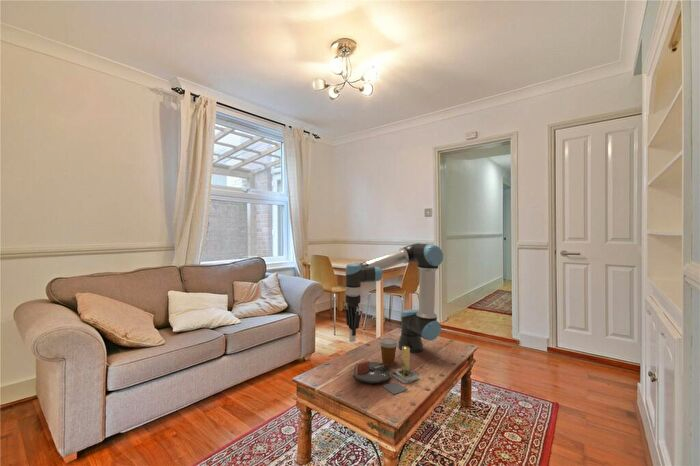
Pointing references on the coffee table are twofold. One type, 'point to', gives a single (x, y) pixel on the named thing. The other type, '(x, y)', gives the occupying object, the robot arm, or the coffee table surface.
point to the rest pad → (395, 388)
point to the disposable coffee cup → (388, 350)
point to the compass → (371, 372)
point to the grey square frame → (405, 379)
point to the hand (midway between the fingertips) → (352, 341)
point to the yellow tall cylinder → (405, 360)
